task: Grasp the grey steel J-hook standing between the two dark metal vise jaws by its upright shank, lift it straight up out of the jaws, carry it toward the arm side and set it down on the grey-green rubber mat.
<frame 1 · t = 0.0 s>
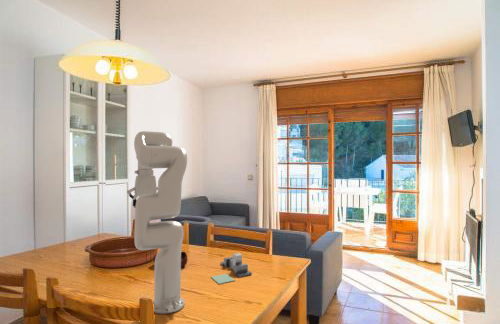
hand: (145, 206, 153), 31 cm above the table, tool pointing down, fingers open, 9 cm apart
mat: (222, 279, 140), on the table
hook: (237, 270, 151), on the table
ashtray: (174, 265, 160), on the table
vise: (237, 270, 151), on the table
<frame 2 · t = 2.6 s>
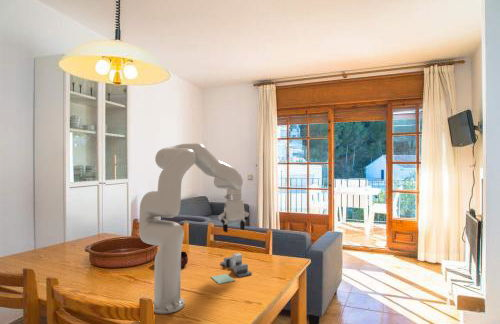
hand: (234, 230, 156), 19 cm above the table, tool pointing down, fingers open, 9 cm apart
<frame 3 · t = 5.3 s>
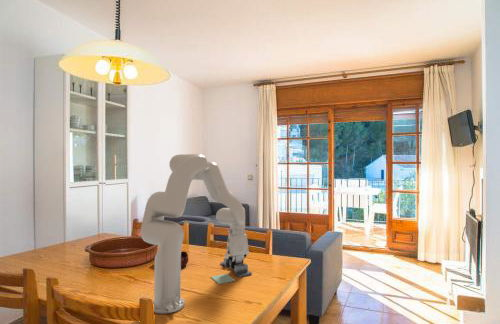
hand: (237, 268, 151), 1 cm above the table, tool pointing down, fingers closed on hook, 3 cm apart
hook: (237, 270, 151), on the table, touching gripper
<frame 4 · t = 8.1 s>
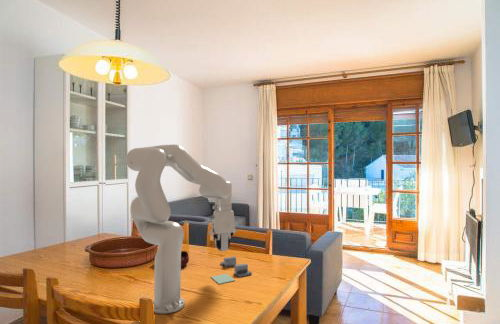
hand: (223, 247, 140), 15 cm above the table, tool pointing down, fingers closed on hook, 3 cm apart
hook: (222, 249, 140), point 14 cm above the table, touching gripper
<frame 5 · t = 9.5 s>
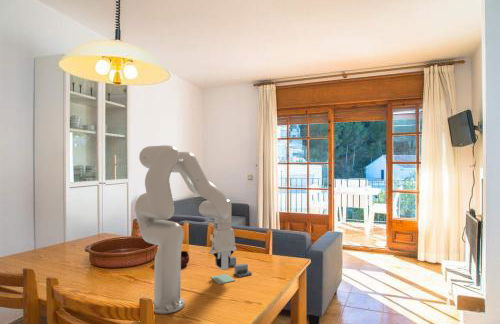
hand: (223, 265, 140), 6 cm above the table, tool pointing down, fingers closed on hook, 3 cm apart
hook: (223, 268, 140), point 5 cm above the table, touching gripper
when the fingers open (3 cm above the table, at t = 10.8 s): hook drops 1 cm, resting on mat.
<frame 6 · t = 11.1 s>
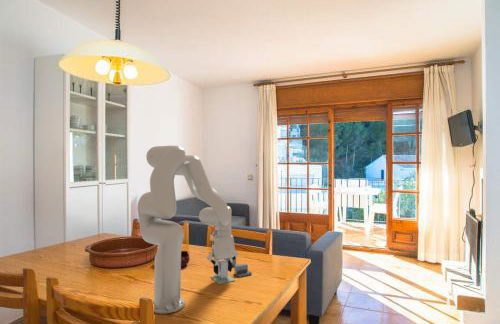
hand: (222, 271, 140), 3 cm above the table, tool pointing down, fingers open, 6 cm apart
hook: (222, 278, 140), resting on mat
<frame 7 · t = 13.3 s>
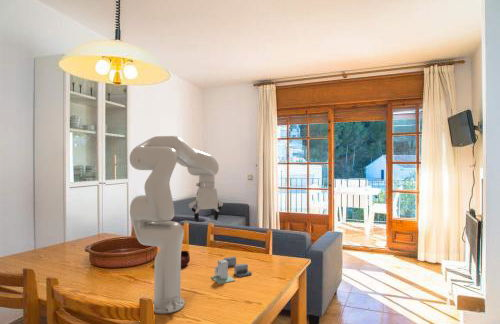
hand: (206, 220, 148), 25 cm above the table, tool pointing down, fingers open, 9 cm apart
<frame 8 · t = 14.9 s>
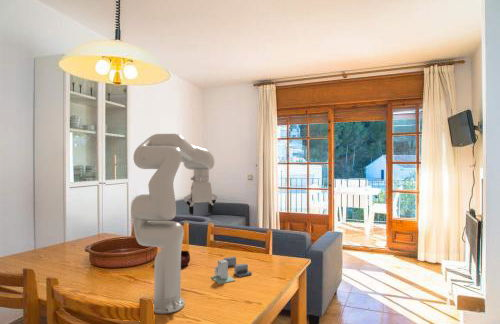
hand: (200, 213, 151), 28 cm above the table, tool pointing down, fingers open, 9 cm apart
at the end: hook inside the target area on the mat (0.2 cm from its centre), point 0.4 cm above the mat's base; the gripper is holding nothing; hook touching mat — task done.
